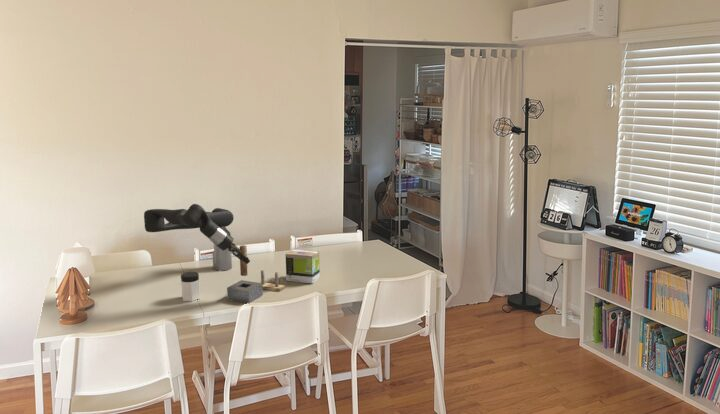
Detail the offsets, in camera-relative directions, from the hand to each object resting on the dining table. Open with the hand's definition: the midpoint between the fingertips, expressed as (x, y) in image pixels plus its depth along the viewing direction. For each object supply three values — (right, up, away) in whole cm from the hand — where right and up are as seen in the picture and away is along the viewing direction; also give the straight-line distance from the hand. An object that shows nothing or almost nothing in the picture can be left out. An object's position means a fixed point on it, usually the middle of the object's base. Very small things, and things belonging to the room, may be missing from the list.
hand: (247, 261), depth 292 cm
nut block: (-2, -18, +3) cm, 18 cm away
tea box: (+23, -12, +29) cm, 39 cm away
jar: (-27, -18, +2) cm, 33 cm away
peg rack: (+8, -15, +16) cm, 23 cm away
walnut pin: (-2, -6, +1) cm, 7 cm away
